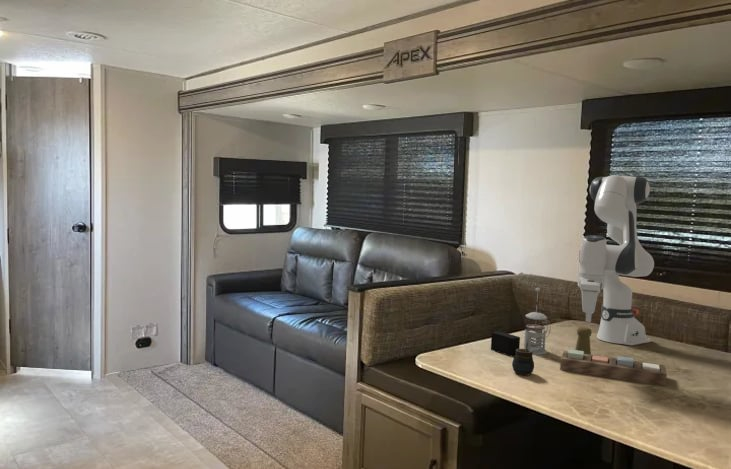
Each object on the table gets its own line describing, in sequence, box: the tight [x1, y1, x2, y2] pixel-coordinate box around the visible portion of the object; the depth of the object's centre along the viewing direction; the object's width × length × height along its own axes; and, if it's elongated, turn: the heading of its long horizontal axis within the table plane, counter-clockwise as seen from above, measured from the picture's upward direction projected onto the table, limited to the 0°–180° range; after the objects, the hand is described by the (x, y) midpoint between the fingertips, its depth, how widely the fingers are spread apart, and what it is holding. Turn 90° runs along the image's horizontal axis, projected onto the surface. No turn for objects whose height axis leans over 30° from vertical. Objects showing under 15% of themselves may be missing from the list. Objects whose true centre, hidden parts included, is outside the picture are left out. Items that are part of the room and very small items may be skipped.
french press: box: [521, 287, 552, 356], centre depth 224 cm, size 10×12×25 cm
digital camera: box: [490, 330, 521, 357], centre depth 222 cm, size 10×5×7 cm, turn 37°
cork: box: [574, 326, 592, 355], centre depth 220 cm, size 6×6×11 cm
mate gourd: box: [511, 342, 535, 376], centre depth 196 cm, size 7×8×10 cm
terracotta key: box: [592, 354, 609, 363], centre depth 202 cm, size 5×5×2 cm
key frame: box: [559, 350, 668, 387], centre depth 200 cm, size 33×11×4 cm, turn 66°
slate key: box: [616, 355, 634, 367], centre depth 198 cm, size 5×5×2 cm
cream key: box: [642, 362, 660, 371], centre depth 195 cm, size 5×5×2 cm
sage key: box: [568, 348, 584, 360], centre depth 205 cm, size 5×5×2 cm
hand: (588, 321), depth 202 cm, fingers closed
